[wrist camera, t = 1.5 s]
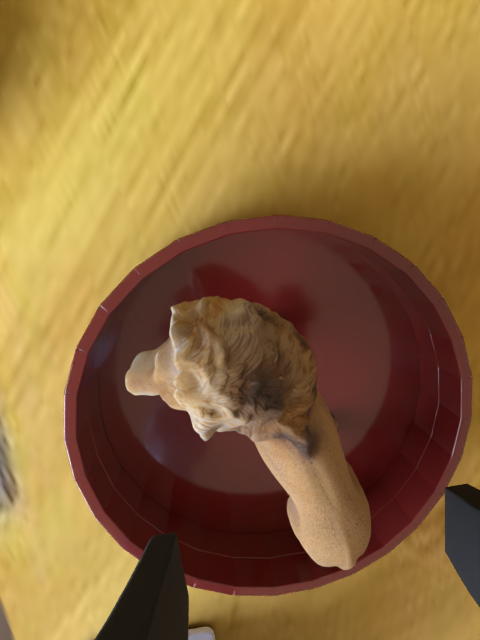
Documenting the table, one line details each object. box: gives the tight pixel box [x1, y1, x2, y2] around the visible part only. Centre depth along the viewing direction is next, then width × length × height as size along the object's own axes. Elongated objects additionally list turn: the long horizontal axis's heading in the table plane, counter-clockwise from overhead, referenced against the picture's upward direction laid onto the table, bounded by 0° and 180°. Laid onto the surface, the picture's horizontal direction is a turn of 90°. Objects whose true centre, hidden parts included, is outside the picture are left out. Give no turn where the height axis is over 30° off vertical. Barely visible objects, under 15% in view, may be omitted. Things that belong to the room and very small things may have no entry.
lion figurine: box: [125, 296, 371, 570], centre depth 15 cm, size 15×5×9 cm, turn 35°
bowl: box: [64, 215, 472, 596], centre depth 18 cm, size 17×17×4 cm
